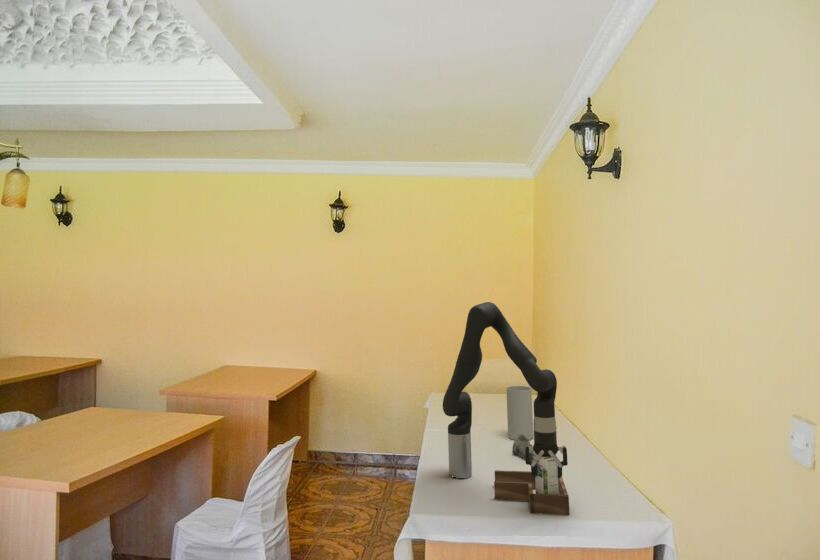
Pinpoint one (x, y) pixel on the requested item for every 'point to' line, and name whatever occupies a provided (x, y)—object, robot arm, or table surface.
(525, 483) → the walnut corridor
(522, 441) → the mineral rock
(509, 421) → the cylinder vase
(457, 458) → the robot arm
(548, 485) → the syrup box
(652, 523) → the table surface
